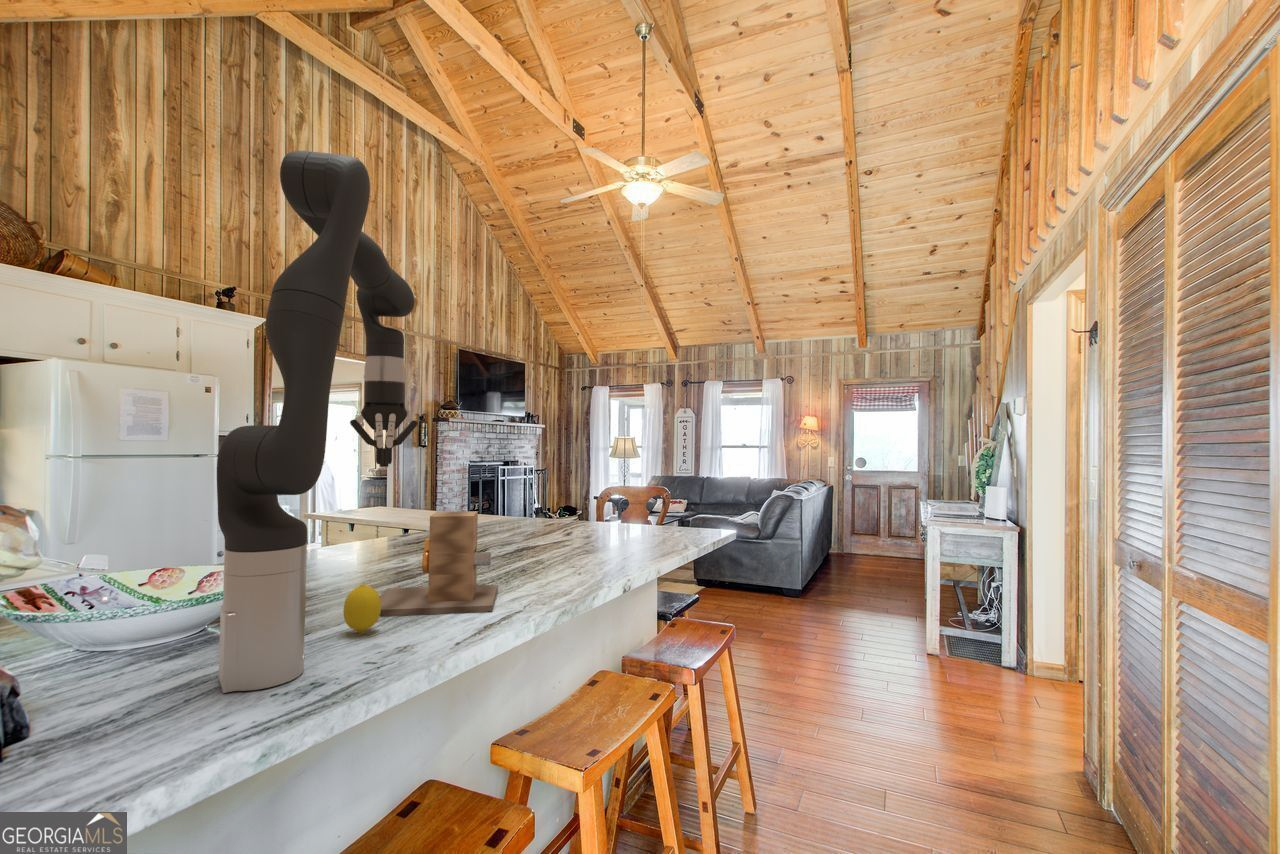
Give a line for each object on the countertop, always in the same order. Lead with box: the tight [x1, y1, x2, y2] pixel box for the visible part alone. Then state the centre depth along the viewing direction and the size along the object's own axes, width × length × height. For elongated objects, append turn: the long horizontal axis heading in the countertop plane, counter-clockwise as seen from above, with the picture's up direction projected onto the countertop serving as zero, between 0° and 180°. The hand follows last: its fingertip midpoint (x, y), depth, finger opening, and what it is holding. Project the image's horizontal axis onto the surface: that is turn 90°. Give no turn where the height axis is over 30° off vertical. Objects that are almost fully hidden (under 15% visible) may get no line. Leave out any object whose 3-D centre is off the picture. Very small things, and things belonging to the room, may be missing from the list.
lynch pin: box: [421, 537, 492, 574], centre depth 114 cm, size 12×5×7 cm, turn 100°
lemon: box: [343, 583, 381, 634], centre depth 95 cm, size 6×6×8 cm
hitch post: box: [379, 510, 499, 618], centre depth 114 cm, size 22×16×17 cm
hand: (383, 466), depth 117 cm, fingers closed
